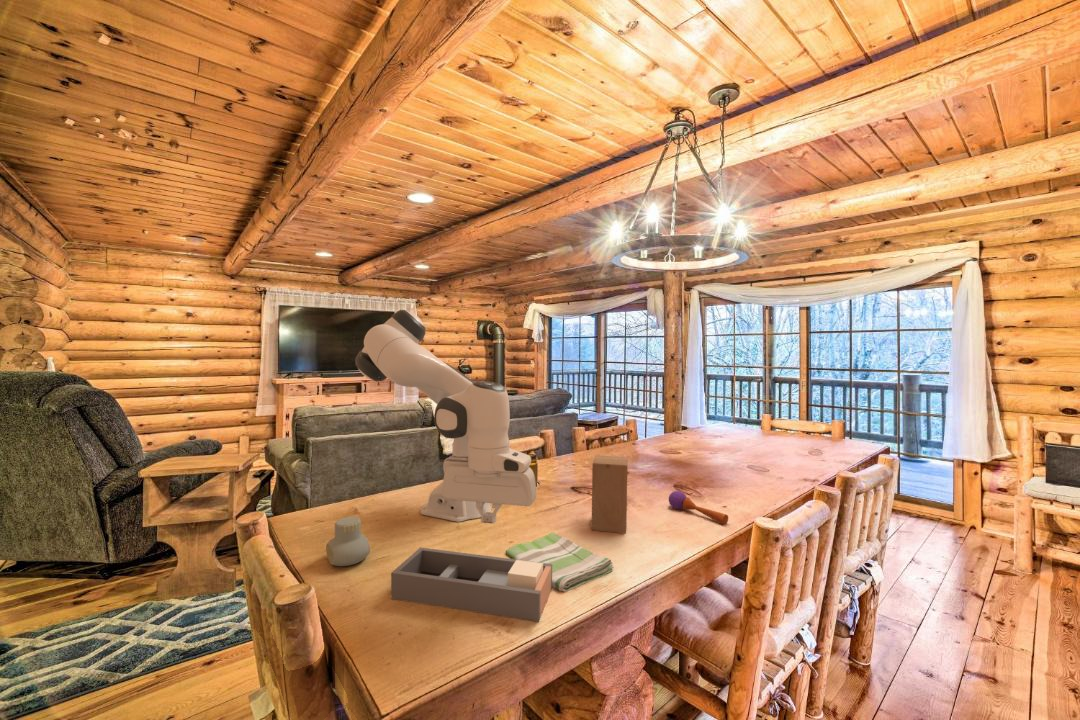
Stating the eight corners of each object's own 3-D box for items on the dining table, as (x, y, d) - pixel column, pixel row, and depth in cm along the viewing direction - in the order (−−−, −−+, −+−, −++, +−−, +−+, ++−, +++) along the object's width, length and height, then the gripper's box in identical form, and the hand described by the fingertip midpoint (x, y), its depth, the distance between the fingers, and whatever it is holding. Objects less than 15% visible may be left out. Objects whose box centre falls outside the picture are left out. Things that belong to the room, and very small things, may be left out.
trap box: (391, 598, 94) (391, 572, 94) (420, 570, 106) (420, 547, 106) (538, 621, 87) (539, 593, 87) (551, 588, 99) (552, 564, 99)
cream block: (507, 592, 92) (507, 573, 91) (516, 577, 97) (516, 559, 97) (536, 596, 90) (536, 577, 90) (542, 581, 96) (543, 563, 96)
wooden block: (626, 534, 128) (627, 464, 128) (591, 530, 130) (592, 462, 130) (626, 521, 138) (627, 456, 138) (594, 518, 140) (595, 454, 140)
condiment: (520, 488, 169) (520, 457, 169) (521, 481, 177) (521, 451, 177) (539, 488, 169) (539, 457, 168) (539, 482, 177) (539, 452, 177)
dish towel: (561, 596, 97) (561, 580, 97) (503, 556, 115) (503, 542, 115) (615, 572, 107) (615, 558, 107) (554, 539, 125) (554, 527, 125)
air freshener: (372, 564, 109) (372, 523, 109) (336, 575, 104) (336, 532, 103) (358, 548, 117) (358, 510, 117) (324, 557, 112) (324, 518, 112)
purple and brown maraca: (719, 515, 134) (664, 492, 150) (719, 532, 135) (665, 508, 151) (730, 507, 137) (675, 485, 153) (730, 524, 139) (676, 501, 154)
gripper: (437, 458, 94) (437, 523, 95) (531, 464, 90) (530, 532, 90) (449, 451, 101) (449, 512, 101) (538, 457, 96) (537, 520, 97)
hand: (488, 522), depth 96 cm, fingers closed
